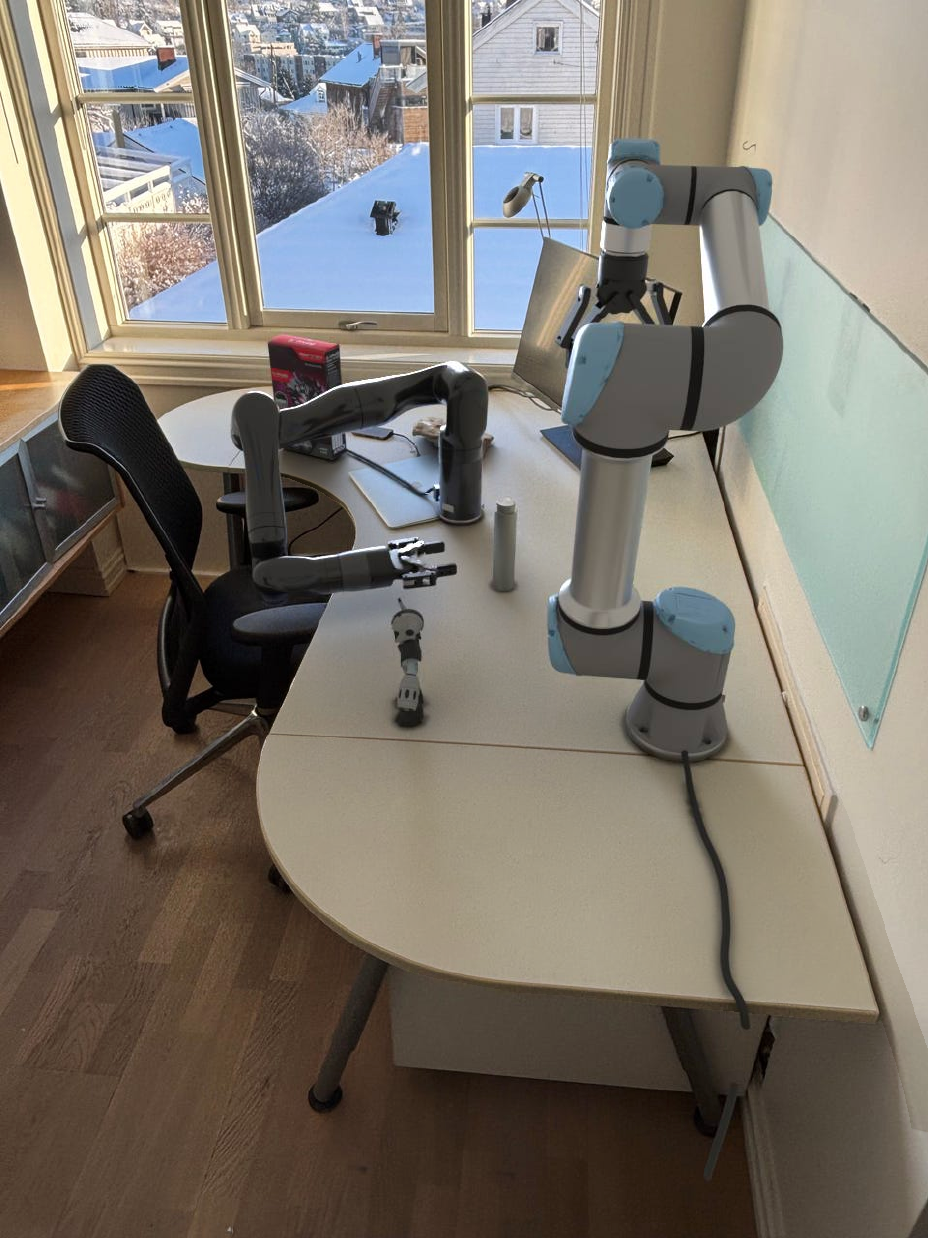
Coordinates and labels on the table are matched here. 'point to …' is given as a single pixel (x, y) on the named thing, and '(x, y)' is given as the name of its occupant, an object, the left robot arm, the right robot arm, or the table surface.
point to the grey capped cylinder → (504, 544)
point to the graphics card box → (306, 383)
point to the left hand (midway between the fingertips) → (450, 557)
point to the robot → (409, 665)
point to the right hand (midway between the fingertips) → (611, 384)
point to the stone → (431, 431)
